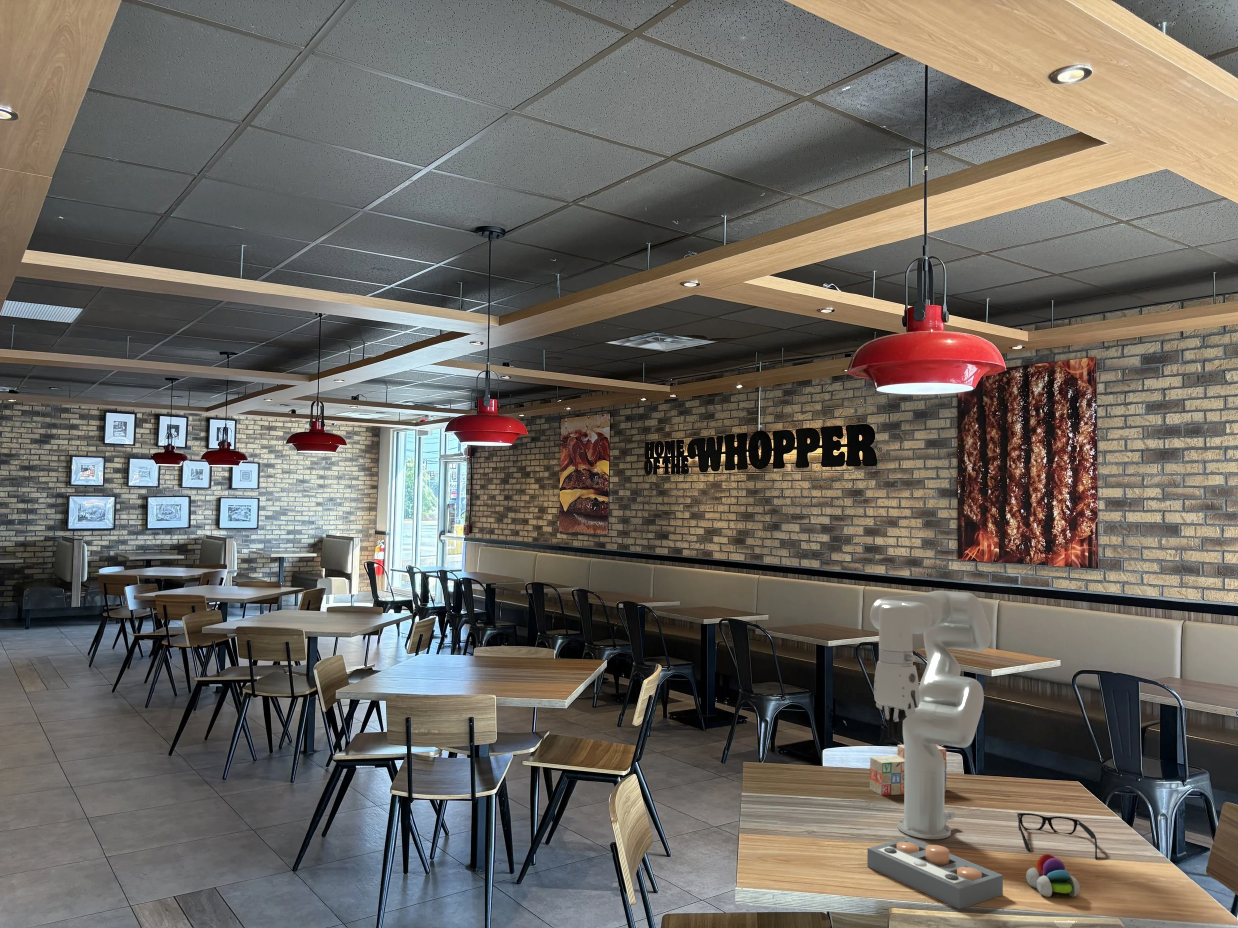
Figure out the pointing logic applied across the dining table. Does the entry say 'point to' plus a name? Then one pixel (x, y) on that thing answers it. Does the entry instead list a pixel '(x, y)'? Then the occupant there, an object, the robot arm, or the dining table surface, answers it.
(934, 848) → the button
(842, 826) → the dining table surface
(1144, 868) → the dining table surface
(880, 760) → the stack of blocks
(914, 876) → the button board
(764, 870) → the dining table surface
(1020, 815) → the glasses
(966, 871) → the button
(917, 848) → the button
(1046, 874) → the rainbow wheeled toy
